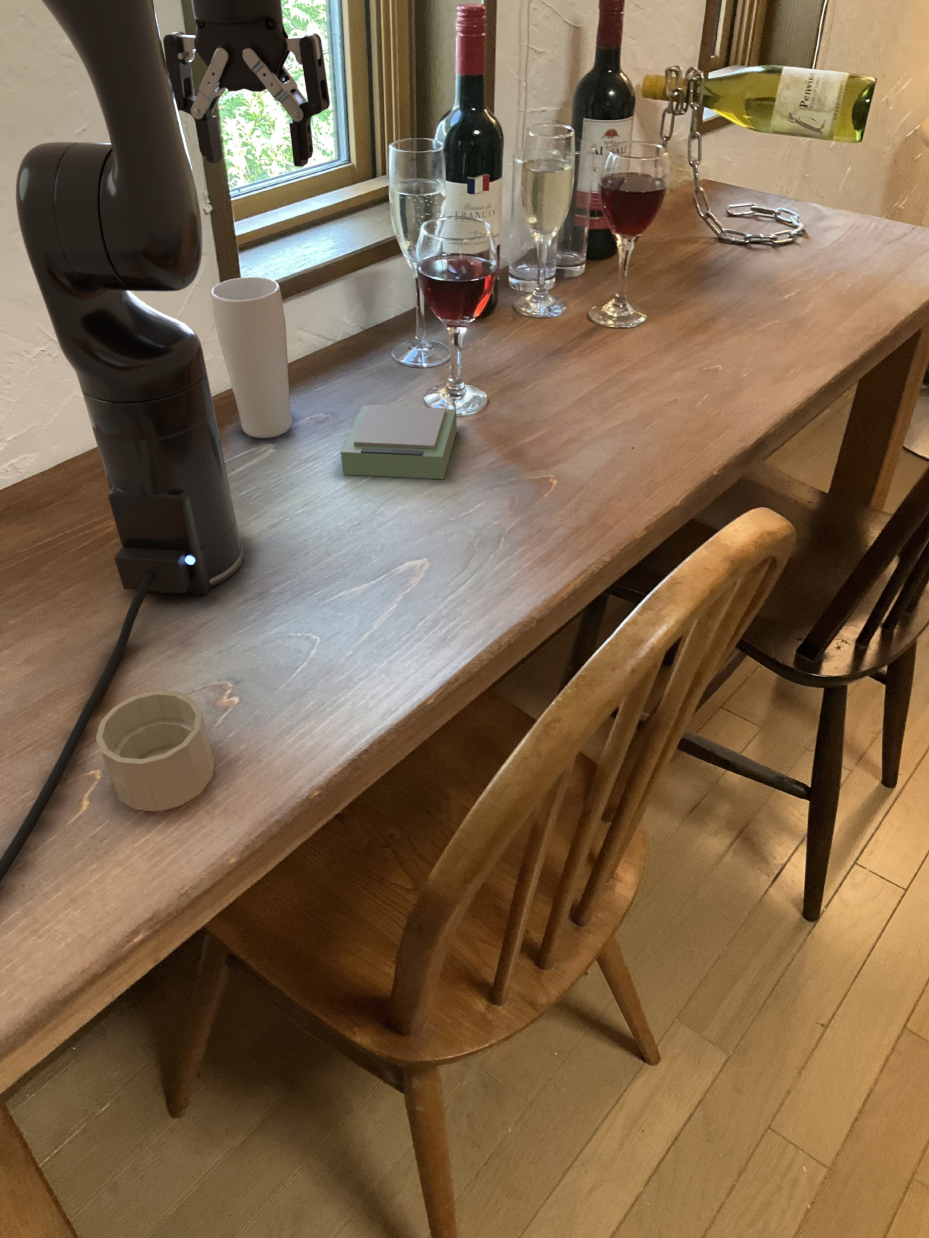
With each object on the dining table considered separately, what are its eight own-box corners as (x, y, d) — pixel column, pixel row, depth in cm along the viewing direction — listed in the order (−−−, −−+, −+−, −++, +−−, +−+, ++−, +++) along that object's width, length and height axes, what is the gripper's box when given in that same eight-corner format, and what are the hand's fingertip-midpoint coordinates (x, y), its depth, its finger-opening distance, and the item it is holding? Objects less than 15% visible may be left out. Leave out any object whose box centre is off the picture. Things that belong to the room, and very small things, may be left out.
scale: (443, 479, 93) (442, 453, 91) (343, 474, 94) (340, 448, 92) (456, 431, 101) (456, 405, 99) (363, 426, 102) (361, 401, 100)
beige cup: (197, 820, 61) (181, 767, 58) (99, 811, 62) (78, 758, 58) (228, 747, 66) (215, 694, 63) (137, 739, 67) (120, 687, 63)
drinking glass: (294, 444, 99) (273, 301, 90) (229, 444, 99) (202, 301, 90) (304, 413, 105) (285, 276, 95) (242, 414, 105) (218, 276, 95)
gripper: (130, -45, 78) (170, 170, 88) (297, -45, 76) (318, 175, 86) (170, -50, 84) (203, 152, 94) (326, -50, 82) (343, 157, 91)
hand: (258, 163), depth 90 cm, fingers open, 8 cm apart
